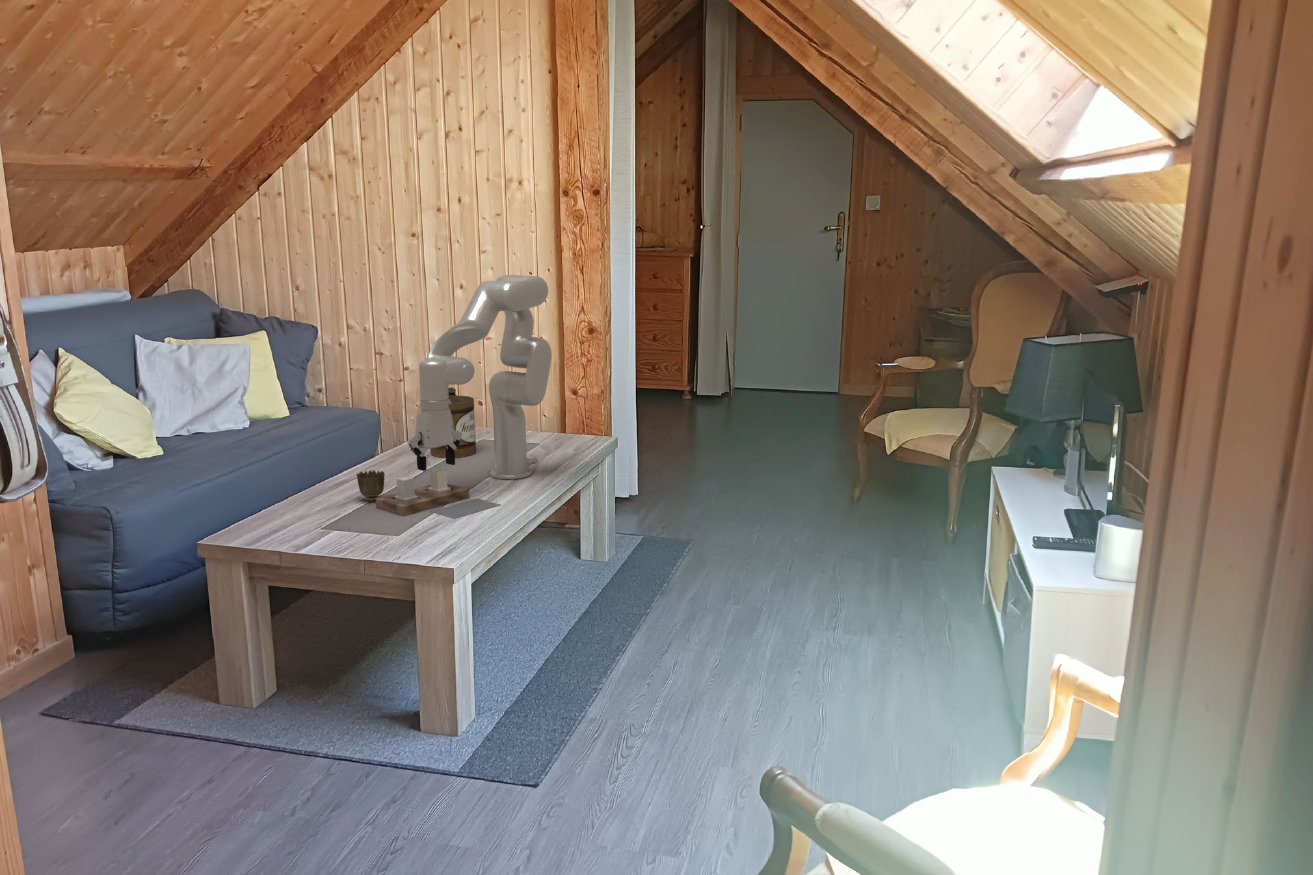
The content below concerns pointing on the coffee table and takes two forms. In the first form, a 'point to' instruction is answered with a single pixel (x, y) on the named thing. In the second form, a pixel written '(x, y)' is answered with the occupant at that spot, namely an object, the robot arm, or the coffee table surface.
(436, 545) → the coffee table surface
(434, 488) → the ivory plug
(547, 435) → the coffee table surface
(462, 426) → the wooden container
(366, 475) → the cup
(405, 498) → the grey plug
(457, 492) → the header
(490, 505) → the mat
